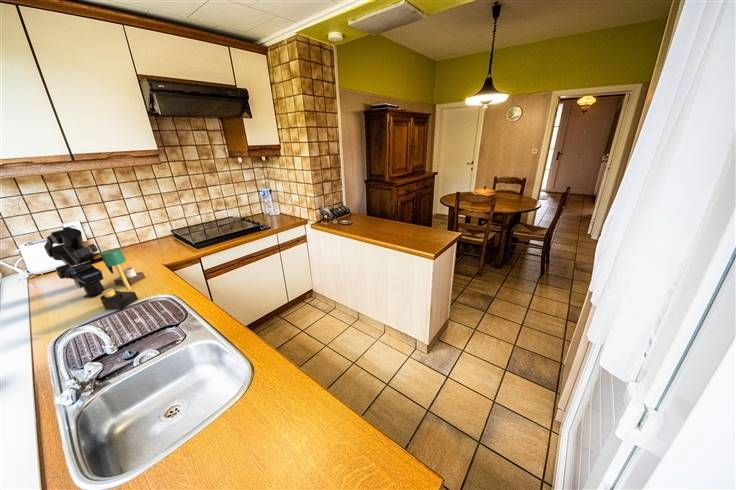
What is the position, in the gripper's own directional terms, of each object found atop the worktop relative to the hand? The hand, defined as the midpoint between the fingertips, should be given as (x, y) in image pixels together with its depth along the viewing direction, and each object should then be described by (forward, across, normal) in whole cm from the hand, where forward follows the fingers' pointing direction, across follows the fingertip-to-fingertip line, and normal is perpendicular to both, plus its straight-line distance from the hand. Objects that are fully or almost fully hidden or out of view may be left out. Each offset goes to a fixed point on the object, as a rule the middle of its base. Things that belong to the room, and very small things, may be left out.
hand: (99, 278), depth 115 cm
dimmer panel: (-3, +13, +21) cm, 25 cm away
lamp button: (+9, -1, +2) cm, 9 cm away
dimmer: (-4, +14, +17) cm, 23 cm away
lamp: (+10, +5, 0) cm, 12 cm away
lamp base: (+13, +1, +5) cm, 14 cm away
